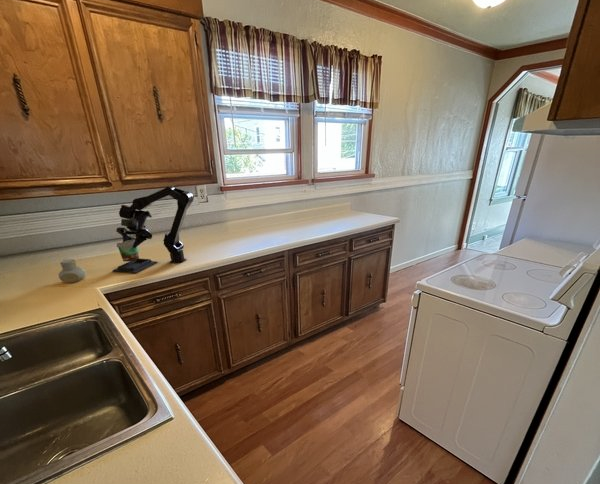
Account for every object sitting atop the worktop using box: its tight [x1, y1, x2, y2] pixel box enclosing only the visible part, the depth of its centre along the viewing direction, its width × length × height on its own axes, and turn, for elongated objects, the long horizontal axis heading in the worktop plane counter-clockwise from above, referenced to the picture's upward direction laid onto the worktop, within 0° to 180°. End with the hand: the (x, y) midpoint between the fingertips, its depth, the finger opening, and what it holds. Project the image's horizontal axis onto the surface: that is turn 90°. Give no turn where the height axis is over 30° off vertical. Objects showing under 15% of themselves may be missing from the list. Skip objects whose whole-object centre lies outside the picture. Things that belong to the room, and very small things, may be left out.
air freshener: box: [58, 258, 87, 284], centre depth 155 cm, size 11×8×10 cm
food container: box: [116, 236, 140, 262], centre depth 171 cm, size 12×6×10 cm, turn 168°
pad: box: [112, 257, 158, 275], centre depth 174 cm, size 14×18×2 cm
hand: (128, 247), depth 169 cm, fingers closed on food container, 6 cm apart
